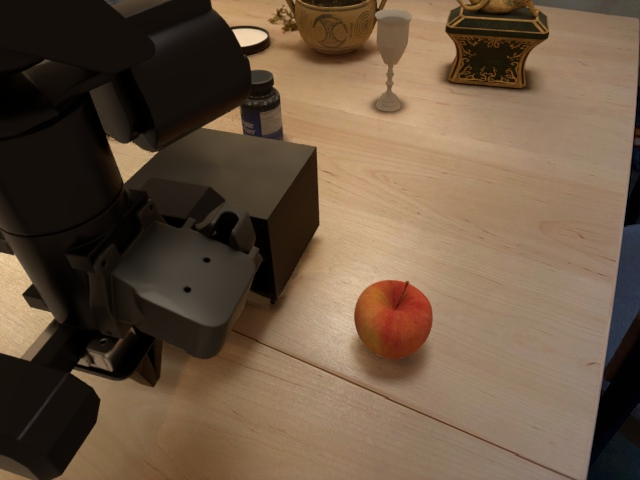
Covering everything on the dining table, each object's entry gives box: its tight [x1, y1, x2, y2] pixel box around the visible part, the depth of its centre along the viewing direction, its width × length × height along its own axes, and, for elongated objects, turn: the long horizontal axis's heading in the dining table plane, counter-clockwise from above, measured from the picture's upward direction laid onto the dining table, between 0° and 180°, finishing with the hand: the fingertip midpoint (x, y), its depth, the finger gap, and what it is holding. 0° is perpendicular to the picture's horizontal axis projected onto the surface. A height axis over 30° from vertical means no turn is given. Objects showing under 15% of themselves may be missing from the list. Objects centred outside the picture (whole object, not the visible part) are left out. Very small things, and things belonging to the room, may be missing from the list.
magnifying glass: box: [229, 25, 271, 55], centre depth 113 cm, size 12×24×2 cm, turn 71°
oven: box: [124, 127, 321, 306], centre depth 58 cm, size 13×16×13 cm
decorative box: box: [444, 0, 550, 89], centre depth 91 cm, size 20×10×20 cm, turn 74°
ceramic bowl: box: [285, 0, 388, 56], centre depth 104 cm, size 22×17×15 cm
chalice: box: [375, 8, 414, 112], centre depth 85 cm, size 6×6×15 cm
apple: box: [353, 279, 434, 360], centre depth 50 cm, size 7×7×8 cm
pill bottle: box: [239, 69, 285, 141], centre depth 78 cm, size 6×6×11 cm
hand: (150, 381), depth 35 cm, fingers closed
